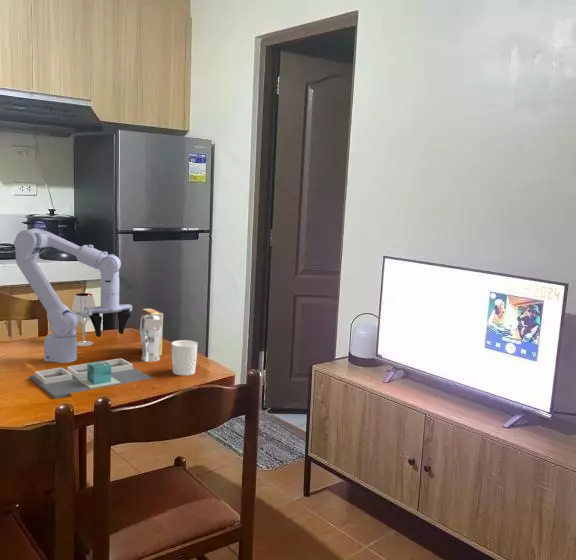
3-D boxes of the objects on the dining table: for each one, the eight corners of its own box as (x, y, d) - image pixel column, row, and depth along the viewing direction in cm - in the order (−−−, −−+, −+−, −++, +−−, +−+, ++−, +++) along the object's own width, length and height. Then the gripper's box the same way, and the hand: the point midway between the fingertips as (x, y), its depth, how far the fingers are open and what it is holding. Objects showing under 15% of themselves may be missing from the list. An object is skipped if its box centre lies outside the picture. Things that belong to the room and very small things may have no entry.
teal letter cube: (87, 380, 176) (87, 363, 175) (103, 377, 179) (103, 360, 178) (94, 384, 172) (94, 367, 171) (111, 381, 175) (111, 364, 175)
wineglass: (68, 343, 218) (67, 293, 215) (89, 339, 223) (89, 291, 221) (77, 348, 212) (77, 297, 209) (99, 344, 217) (100, 295, 215)
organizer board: (29, 378, 178) (29, 370, 178) (122, 363, 197) (122, 356, 197) (54, 398, 163) (54, 390, 163) (152, 380, 182) (152, 373, 181)
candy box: (140, 352, 211) (141, 308, 209) (152, 350, 214) (153, 307, 211) (151, 358, 204) (152, 313, 202) (163, 357, 207) (163, 312, 204)
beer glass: (156, 365, 197) (156, 320, 194) (136, 363, 198) (136, 318, 196) (164, 359, 204) (165, 315, 201) (145, 357, 205) (145, 314, 203)
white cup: (174, 370, 193) (174, 339, 191) (198, 371, 193) (199, 340, 191) (168, 377, 185) (169, 345, 184) (194, 379, 185) (195, 347, 183)
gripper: (92, 297, 186) (92, 340, 188) (136, 293, 195) (136, 334, 197) (83, 293, 191) (83, 335, 193) (126, 290, 200) (126, 330, 202)
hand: (109, 334), depth 195 cm, fingers open, 7 cm apart
